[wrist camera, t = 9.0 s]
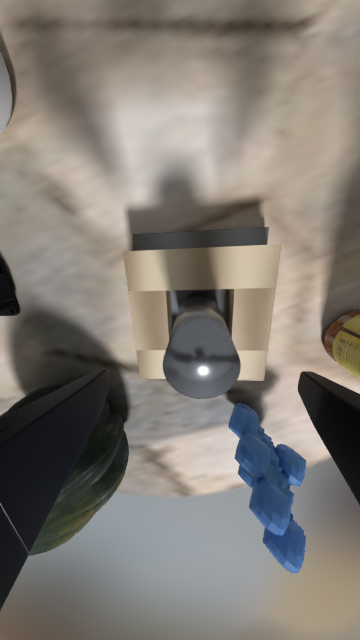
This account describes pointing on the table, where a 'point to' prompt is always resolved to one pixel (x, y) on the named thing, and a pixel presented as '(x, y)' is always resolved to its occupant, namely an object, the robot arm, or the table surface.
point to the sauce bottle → (345, 342)
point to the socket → (203, 290)
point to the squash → (83, 476)
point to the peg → (200, 350)
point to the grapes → (270, 485)
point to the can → (5, 95)
